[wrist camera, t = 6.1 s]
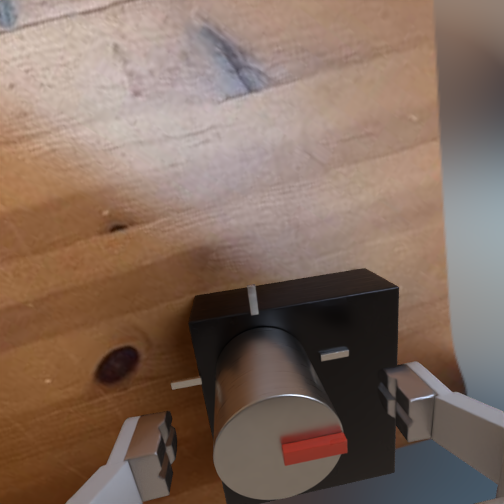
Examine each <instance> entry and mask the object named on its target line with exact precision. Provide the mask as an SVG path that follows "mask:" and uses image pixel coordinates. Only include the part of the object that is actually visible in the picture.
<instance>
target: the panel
mask: <svg viewBox="0 0 504 504" xmlns="http://www.w3.org/2000/svg"><path fill="white" fill-rule="evenodd" d="M398 306H399V287H398V286H396V285H394V284H393V283H391V282H389V281H387V280H385V279H384V278H382V277H380V276H378V275H376V274H375V273H373V272H371V271H369V270H367V269H366V268H364V269H357V270H351V271H345V272H339V273H333V274H327V275H321V276H314V277H308V278H302V279H296V280H290V281H284V282H277V283H271V284H265V285H259V286H255V284H253V285H247V288H240V289H234V290H228V291H222V292H216V293H210V294H204V295H197V296H195V299H194V303H193V307H192V311H191V315H190V319H189V323H188V324H189V329H190V334H191V338H192V343H193V348H194V352H195V357H196V362H197V366H198V371H199V376H197V377H191V378H186V379H181V380H175V381H171V387H172V390H174V389H179V388H184V387H190V386H195V385H200V384H201V385H202V390H203V395H204V399H205V404H206V409H207V413H208V418H209V423H210V428H211V432H212V437H213V441H214V413H215V384H216V365H217V361H218V358H219V356H220V354H221V352H222V350H223V349H224V348H225V346H226V345H227V344H228V343H229V342H230V341H231V340H232V339H233V338H235V337H236V336H238V335H239V334H241V333H243V332H245V331H248V330H251V329H255V328H263V327H268V328H276V329H280V330H283V331H285V332H287V333H289V334H291V335H292V336H294V337H295V338H296V339H297V340H298V341H299V342H300V344H301V345H302V346H303V348H304V350H305V352H306V354H307V356H308V358H309V360H310V362H311V364H312V366H313V368H314V370H315V372H316V374H317V376H318V378H319V380H320V382H321V384H322V386H323V388H324V390H325V392H326V394H327V396H328V398H329V400H330V401H331V403H332V405H333V407H334V409H335V411H336V413H337V415H338V417H339V419H340V421H341V424H342V427H343V433H344V435H345V437H346V439H347V453H344V454H341V455H340V458H339V460H338V462H337V464H336V465H335V466H334V468H333V469H332V471H331V472H330V473H329V474H328V475H327V476H326V477H325V478H324V479H323V480H322V481H320V482H319V483H318V484H316V485H315V486H313V487H312V488H310V489H308V490H306V491H304V492H302V493H300V494H304V493H308V492H312V491H317V490H321V489H326V488H330V487H334V486H339V485H343V484H347V483H352V482H356V481H360V480H365V479H369V478H373V477H378V476H382V475H386V474H391V473H394V472H395V433H396V418H394V417H392V416H391V415H389V414H387V412H386V411H385V409H384V408H383V406H382V404H381V402H380V399H379V396H378V386H379V384H380V383H381V381H380V380H379V378H378V371H379V369H382V368H387V367H392V366H396V365H397V348H398ZM222 484H223V489H224V493H225V498H226V503H227V504H261V503H265V502H270V501H274V500H261V499H254V498H249V497H246V496H243V495H241V494H239V493H237V492H235V491H233V490H232V489H230V488H229V487H228V486H227V485H226V484H225V483H224V482H223V481H222ZM300 494H297V495H300ZM294 496H296V495H294ZM282 499H283V498H282ZM275 500H278V499H275Z"/></svg>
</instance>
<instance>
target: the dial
mask: <svg viewBox="0 0 504 504" xmlns="http://www.w3.org/2000/svg"><path fill="white" fill-rule="evenodd" d="M344 453H347V439H346V437H345V435H344V433H343V427H342V424H341V421H340V419H339V417H338V415H337V413H336V411H335V409H334V407H333V405H332V403H331V401H330V400H329V398H328V396H327V394H326V392H325V390H324V388H323V386H322V384H321V382H320V380H319V378H318V376H317V374H316V372H315V370H314V368H313V366H312V364H311V362H310V360H309V358H308V356H307V354H306V352H305V350H304V348H303V346H302V345H301V344H300V342H299V341H298V340H297V339H296V338H295V337H294V336H292V335H291V334H289V333H287V332H285V331H283V330H280V329H276V328H268V327H263V328H255V329H251V330H248V331H245V332H243V333H241V334H239V335H238V336H236V337H235V338H233V339H232V340H231V341H230V342H229V343H228V344H227V345H226V346H225V348H224V349H223V350H222V352H221V354H220V356H219V358H218V361H217V365H216V384H215V413H214V441H213V460H214V465H215V469H216V471H217V473H218V475H219V477H220V478H221V480H222V481H223V482H224V483H225V484H226V485H227V486H228V487H229V488H230V489H232V490H233V491H235V492H237V493H239V494H241V495H243V496H246V497H249V498H254V499H261V500H275V499H282V498H287V497H291V496H294V495H297V494H300V493H302V492H304V491H306V490H308V489H310V488H312V487H313V486H315V485H316V484H318V483H319V482H320V481H322V480H323V479H324V478H325V477H326V476H327V475H328V474H329V473H330V472H331V471H332V469H333V468H334V466H335V465H336V464H337V462H338V460H339V458H340V455H341V454H344Z"/></svg>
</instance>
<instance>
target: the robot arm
mask: <svg viewBox="0 0 504 504" xmlns="http://www.w3.org/2000/svg"><path fill="white" fill-rule="evenodd" d="M378 378H379V380H380V381H381V383H380V384H379V386H378V396H379V399H380V402H381V404H382V406H383V408H384V409H385V411H386V412H387V414H389V415H391V416H392V417H394V418H396V426H397V427H398V429H399V430H400V432H401V433H402V434H403V436H404V437H405V438H406V440H407V441H408V442H412V441H417V440H422V439H428V438H432V440H434V441H435V442H436V443H438V444H439V445H441V446H442V447H444V448H445V449H447V450H448V451H450V452H451V453H452V454H454V455H456V456H457V457H458V458H460V459H461V460H463V461H464V462H466V463H467V464H469V465H470V466H472V467H473V468H475V469H476V470H478V471H479V472H480V473H482V474H483V475H485V476H486V477H488V478H489V479H491V480H492V481H494V482H495V483H496V484H498V488H497V494H496V499H492V500H487V501H483V502H480V503H476V504H504V412H503V411H501V410H498V409H496V408H494V407H491V406H489V405H487V404H484V403H482V402H479V401H477V400H475V399H472V398H470V397H468V396H465V395H463V394H460V393H458V392H451V391H450V390H449V389H448V388H447V387H446V386H445V385H444V384H443V383H441V382H440V381H439V380H438V379H437V378H436V377H435V376H434V375H432V374H431V373H430V372H429V371H428V370H427V369H426V368H425V367H423V366H422V365H421V364H420V363H418V362H416V361H415V362H411V363H406V364H401V365H396V366H392V367H387V368H382V369H379V371H378ZM171 423H172V416H171V413H170V411H164V412H159V413H153V414H147V415H141V416H137V417H131V418H127V419H126V420H125V422H124V423H123V426H122V428H121V430H120V433H119V435H118V437H117V440H116V442H115V445H114V447H113V449H112V452H111V454H110V456H109V459H108V461H107V464H106V465H104V466H101V467H100V468H99V469H98V470H97V471H96V472H95V473H94V474H93V475H92V476H91V477H90V478H89V479H88V480H87V482H86V483H85V484H84V485H83V486H82V487H81V488H80V489H79V490H78V491H77V492H76V493H75V494H74V495H73V496H72V497H71V498H70V499H69V500H68V501H67V502H66V503H65V504H143V503H142V502H144V501H148V500H152V499H156V498H160V497H164V496H167V495H169V492H170V487H171V481H172V475H173V471H172V467H171V464H172V463H173V461H174V460H175V458H176V452H177V435H176V430H175V428H174V427H173V426H171Z"/></svg>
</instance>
